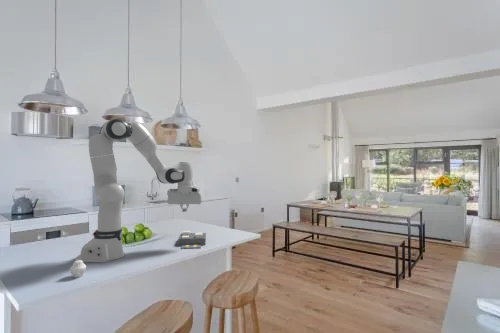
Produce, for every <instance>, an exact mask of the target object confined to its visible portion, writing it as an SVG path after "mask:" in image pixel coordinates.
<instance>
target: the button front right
mask: <svg viewBox="0 0 500 333" xmlns="http://www.w3.org/2000/svg"><path fill="white" fill-rule="evenodd" d="M195 233H196V234H195V238H202V233H203V232H195Z"/></svg>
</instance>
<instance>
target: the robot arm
mask: <svg viewBox="0 0 500 333" xmlns="http://www.w3.org/2000/svg"><path fill="white" fill-rule="evenodd" d="M100 128H101V129H100V131H99V133H98V134H97V133H96V134H94V135H92V136H90V137H89V139H88V154H89V157H90V158H89V159H90V164H91V169H92V173H93V183H94V191H95V196H96V198H97V199H98V200H99V205H98V206H99V207H98V213H97V229H95V231H93V233H92V236H93V238H92V239H90V240H89V241H88V242H87V243H85V244H84V245H83V246H82V247H81V250H80V254H79V255H77V256H76V257H75V260H74V262H75V261H77V260H82V261H83V263H106V262H110V261H114V260H117V259H122V257H124V256H125V252H124V248H123V242H122V241H123V240H122V239H123V228H122V212H123V211H122V210H123V204H124V198H125V195H126V194H125V190H124V188H123V186H122V185H120V183H118V182H117V180H118V179H117V170H118V168H117V164H116V158H115V153H114V150H113V144H114V143H115V142H117V141H121V140H124V139H126V140H128V141H129V142H130V144H132V146H133V147H134V148H135V149H136V150H137V151H138V152H139V153H140V154H141V155H142V156H143V157H144V158H145V159H146V161H147V162H148V164H149V165H150V167H152V169H153V170H154V172H155V174H156V178H157V180H158V182H160V183H161V184H164V185H165V184H171V185H172V184H173V185H175V184H177V188H169V189H168V190H167V191H166V193H167V194H166V195H167V200H166V201H167V205H179V207H180V208H181V212H183V213H185V212H186V213H187V212H188V208H189V206H190V205H201V204H202V202H203V201H202V200H203V199H202V194H201V192H200V188H199V187H196V186H193V178H194V177H193V174H194V173H193V166H192V164H191V163H190V162H186V161H185V162H184V161H180V162H178V163H177V164H175V165H173V166H170V167H168V166H166V165H165V164H164V162H162V160H161V159H160V157H159V155H157V148H158V144H157V141H156V140H155V137H154V136H153V135H152V134H151V133H150V131H149V130H148V129H147V128H146V127H145V126H144V125H143V124H141V123H140V122H139V121H131V122H128V121H124V120H123V119H119V118H113V119H109V120H107V121H105V122H104V123H103V124H102V126H101V127H100ZM184 205H186V207H185V208H184V207H183V206H184Z"/></svg>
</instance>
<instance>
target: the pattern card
mask: <svg viewBox="0 0 500 333" xmlns="http://www.w3.org/2000/svg"><path fill="white" fill-rule="evenodd" d="M201 247H202V245H182V246H180V249H181V250H185V249H187V250H189V249H201Z"/></svg>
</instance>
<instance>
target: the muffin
mask: <svg viewBox="0 0 500 333" xmlns="http://www.w3.org/2000/svg"><path fill="white" fill-rule="evenodd" d="M86 269H87V265H86V264H85V262H83V261H82V260H77V261H75V260H74V262H73V264H72V265H71V266H70V268H69V272H70V274H71V275H72V276H73V278H80V277H83V276H84V274H85V272H86Z"/></svg>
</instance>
